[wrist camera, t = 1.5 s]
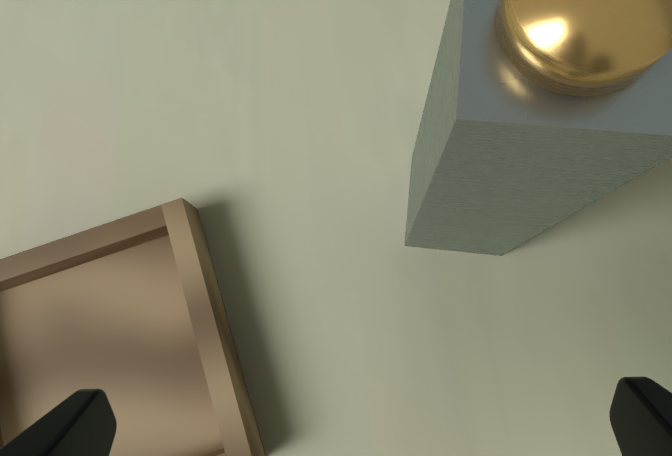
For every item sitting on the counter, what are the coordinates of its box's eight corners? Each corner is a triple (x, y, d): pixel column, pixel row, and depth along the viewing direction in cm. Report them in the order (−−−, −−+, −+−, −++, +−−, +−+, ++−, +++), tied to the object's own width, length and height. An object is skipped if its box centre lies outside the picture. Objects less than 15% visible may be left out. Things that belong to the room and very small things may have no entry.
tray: (265, 457, 21) (255, 469, 19) (7, 545, 21) (-30, 567, 19) (197, 208, 24) (181, 197, 22) (-33, 287, 24) (-69, 282, 22)
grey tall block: (501, 255, 23) (743, 114, 8) (404, 245, 23) (466, 93, 8) (505, 164, 24) (730, -113, 9) (412, 156, 24) (480, -122, 9)
